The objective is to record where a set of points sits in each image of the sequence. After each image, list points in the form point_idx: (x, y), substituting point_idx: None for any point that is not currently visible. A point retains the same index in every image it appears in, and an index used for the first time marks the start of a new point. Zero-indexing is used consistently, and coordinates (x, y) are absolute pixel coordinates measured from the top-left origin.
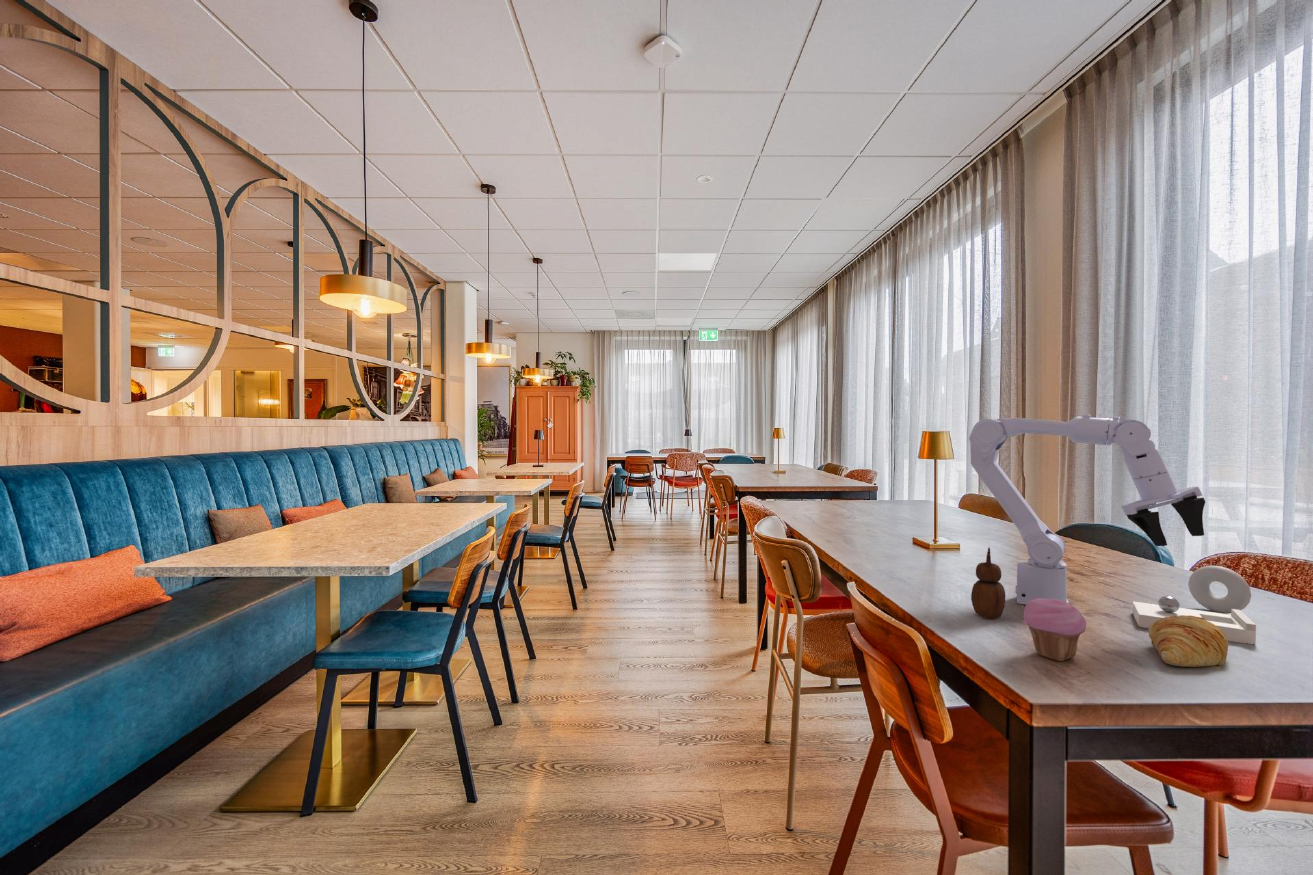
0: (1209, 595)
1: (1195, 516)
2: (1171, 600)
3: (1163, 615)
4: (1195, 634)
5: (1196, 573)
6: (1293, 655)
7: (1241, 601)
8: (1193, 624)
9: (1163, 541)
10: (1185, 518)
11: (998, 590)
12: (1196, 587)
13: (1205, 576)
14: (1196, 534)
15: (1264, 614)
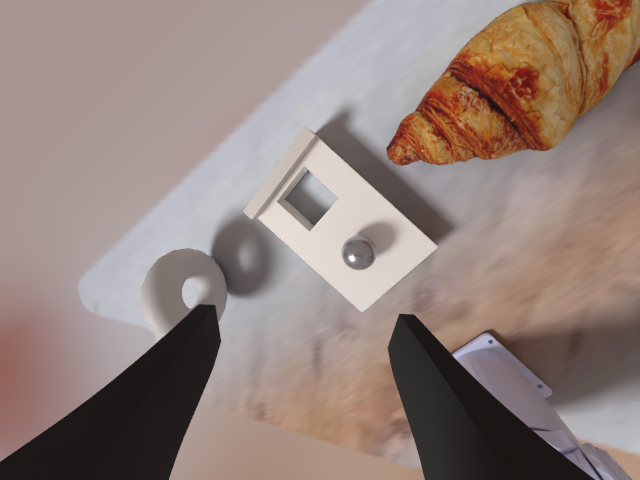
0: (209, 294)
1: (140, 416)
2: (365, 245)
3: (392, 232)
4: (594, 11)
5: None
6: (303, 80)
7: (194, 252)
8: (571, 35)
9: (425, 327)
10: (168, 450)
11: None
12: None
13: None
14: (215, 328)
15: (162, 255)
